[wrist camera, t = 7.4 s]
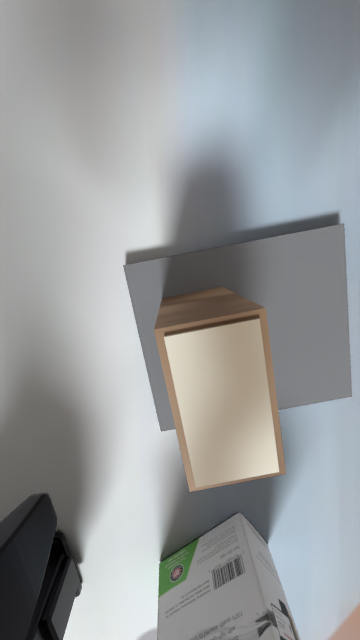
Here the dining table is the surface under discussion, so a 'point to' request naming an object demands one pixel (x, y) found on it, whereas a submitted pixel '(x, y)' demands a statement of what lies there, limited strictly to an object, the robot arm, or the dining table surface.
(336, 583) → the dining table surface
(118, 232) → the dining table surface
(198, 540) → the ink box
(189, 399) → the cream panel wooden box
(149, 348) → the rubber mat
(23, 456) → the dining table surface
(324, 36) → the dining table surface
